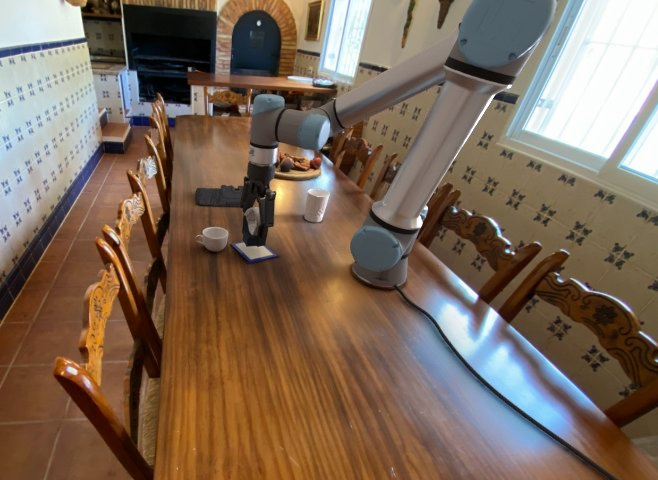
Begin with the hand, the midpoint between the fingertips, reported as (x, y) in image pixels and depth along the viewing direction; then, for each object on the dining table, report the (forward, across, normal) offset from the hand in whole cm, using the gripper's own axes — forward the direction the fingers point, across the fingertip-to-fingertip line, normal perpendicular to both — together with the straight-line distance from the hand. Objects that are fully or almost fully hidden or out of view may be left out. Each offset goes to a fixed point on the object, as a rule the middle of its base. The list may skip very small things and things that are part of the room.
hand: (253, 238), depth 109 cm
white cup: (+4, -13, +34) cm, 37 cm away
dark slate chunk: (+5, -41, +10) cm, 42 cm away
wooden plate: (+5, -64, +58) cm, 86 cm away
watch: (+1, 0, 0) cm, 1 cm away
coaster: (+4, 0, 0) cm, 4 cm away
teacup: (+5, -6, -11) cm, 14 cm away
